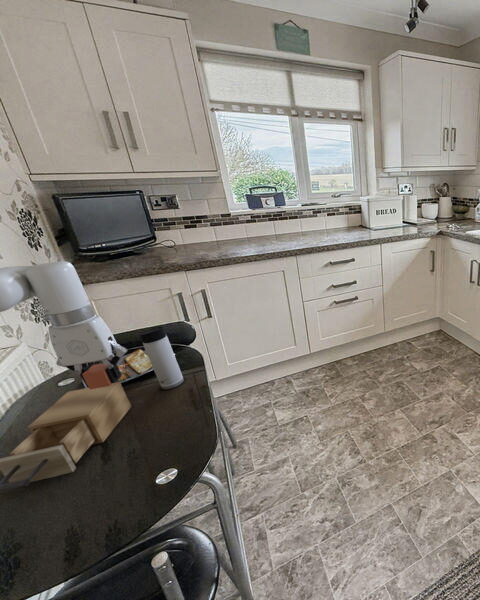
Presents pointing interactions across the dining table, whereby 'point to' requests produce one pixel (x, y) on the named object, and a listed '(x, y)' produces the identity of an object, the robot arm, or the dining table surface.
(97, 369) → the block
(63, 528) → the dining table surface
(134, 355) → the food plate
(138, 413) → the dining table surface
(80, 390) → the cabinet
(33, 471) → the drawer
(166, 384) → the travel mug
